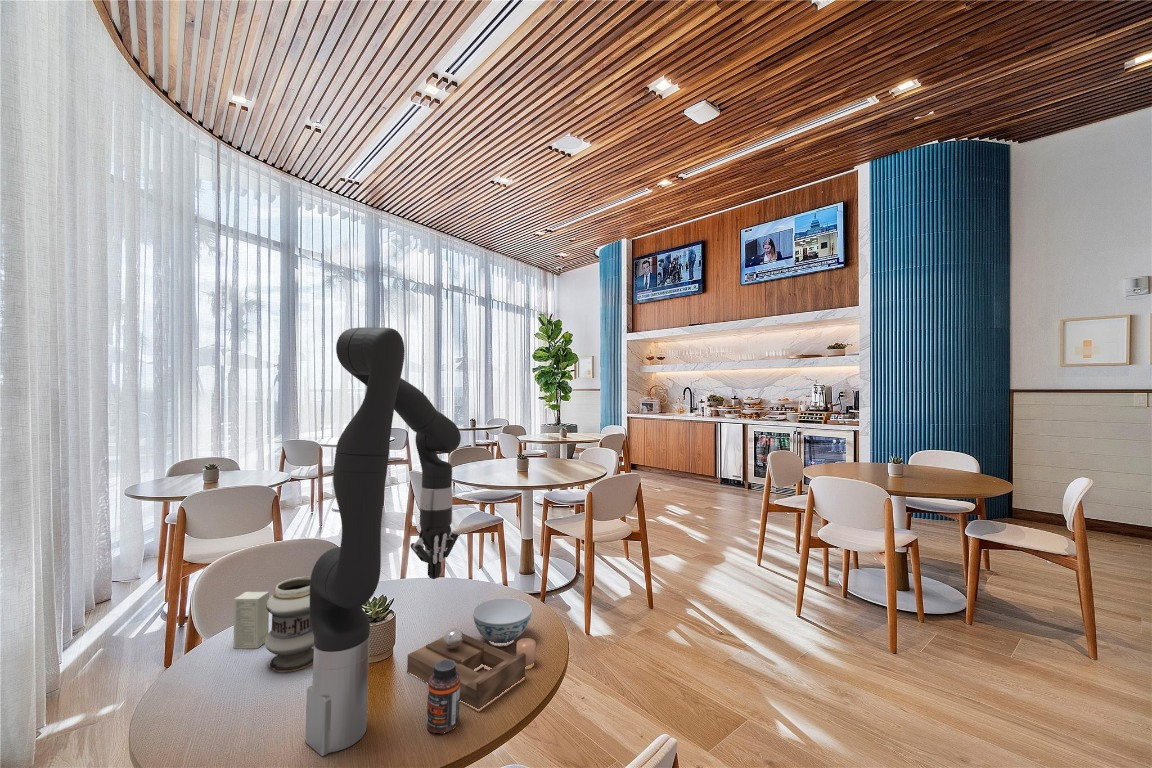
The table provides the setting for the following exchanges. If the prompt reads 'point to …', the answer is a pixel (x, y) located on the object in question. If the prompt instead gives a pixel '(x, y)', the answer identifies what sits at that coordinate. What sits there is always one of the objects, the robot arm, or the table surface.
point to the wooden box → (471, 668)
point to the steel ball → (453, 638)
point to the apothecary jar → (290, 626)
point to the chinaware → (502, 619)
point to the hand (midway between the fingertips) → (434, 577)
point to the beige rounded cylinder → (526, 649)
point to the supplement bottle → (443, 697)
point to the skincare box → (250, 619)
